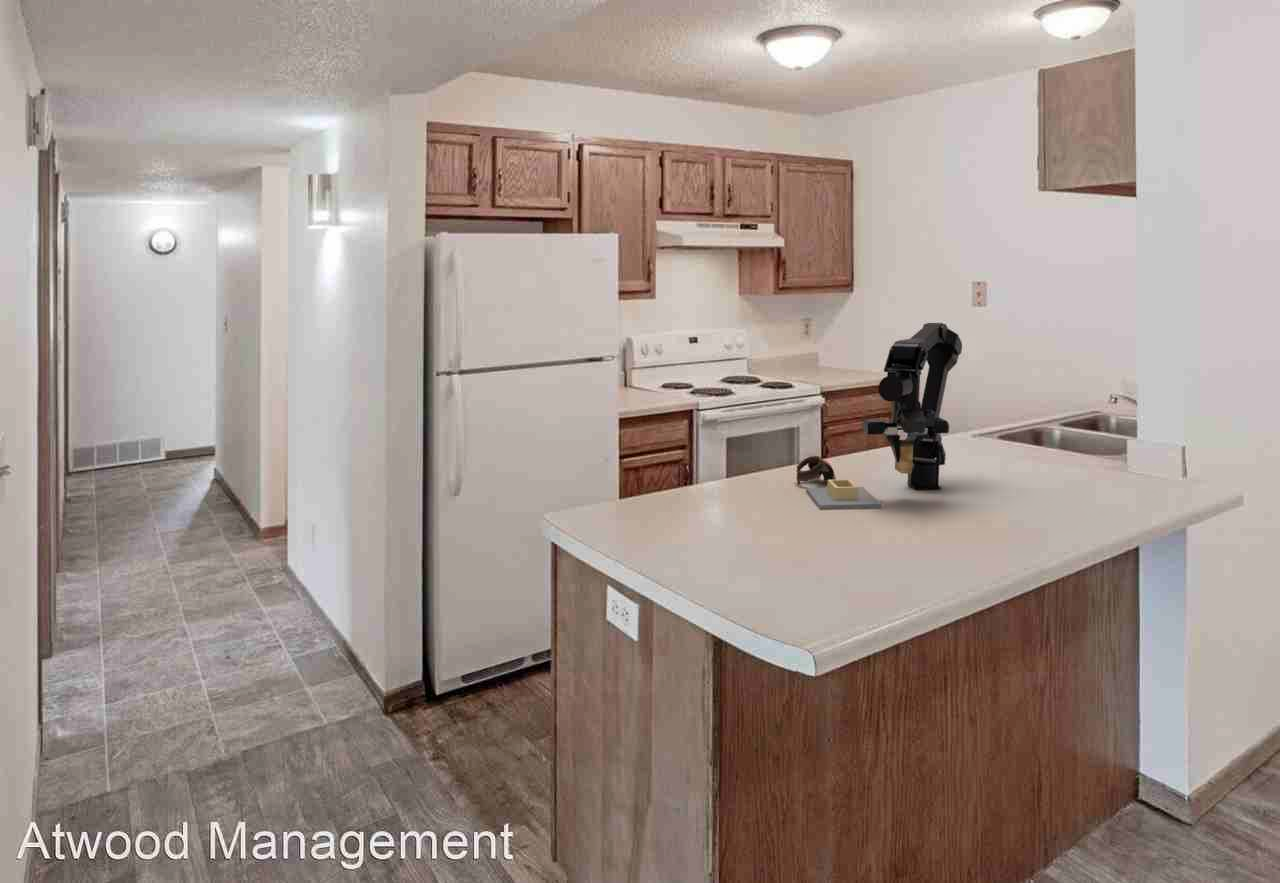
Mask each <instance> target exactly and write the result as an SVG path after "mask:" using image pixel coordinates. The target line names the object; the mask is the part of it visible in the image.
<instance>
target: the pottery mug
mask: <svg viewBox="0 0 1280 883" xmlns="http://www.w3.org/2000/svg"><path fill="white" fill-rule="evenodd" d="M805 466H808V468H809V469H807V470H802V469H803V468H804V467H805ZM795 471H796V481H797V484H798V485H800V484H801V482H807V481H808V480H809V481H811V480H813V479H821V476H822V477H823V482H827V481H828V480H837V479H836V475H835V471H834V468H833V467H832V465H831V463H830V462H828V461H827V460H825V459H823V458H822V456H820V455H812V456H808V457H806V458H803V460H801V461H800V462H799V463H798V464H797V465H796V470H795Z"/></svg>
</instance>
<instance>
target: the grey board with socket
mask: <svg viewBox="0 0 1280 883" xmlns="http://www.w3.org/2000/svg"><path fill="white" fill-rule="evenodd" d="M826 482H827V484H826V485H827V486H826V487H807V488H805V490H806V491H805V493H806V494H807V495H808V496H809V498H810V497H811V498H810V499H811V500H812V501H813V503H814V502H815V503H814V504H815V505H816V507H819V508H818V509H819V510H853V509H854V510H855V509H856V510H857V509H859V510H860V509H862V510H863V508H864V509H882V503H881V502H880V501H879V499H877V498H875V497H874V496H873V495H872V494H871V493H870V492H869V491H868V490H867V489H866V488H865V487H864V486H858V485H857V484H855V482H854V481H853V480H851V479H849V478H847V479H846V478H843V479H836V480H828V481H826Z"/></svg>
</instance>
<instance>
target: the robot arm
mask: <svg viewBox="0 0 1280 883" xmlns="http://www.w3.org/2000/svg"><path fill="white" fill-rule="evenodd" d="M962 351H963V343H962V340H961V338H960V335H959V334H958V333H956V331H955V332H954V331H953V330H952V329H950V328H949V327H948V326H947V324H945V323H943V322H927V323H924V324H923V326H922V328H921V329H920V330H918V331H917V332H916V333H915V334H913V336H911V337H909V338H907V339H906V338H905V339H900V340H899V339H898V340H897V341H894V343H893V344H892V346H891V347H890V348H889V351H888V355H887V358H886V362H885V365H884V369H883V372H884V373H887V374H886V375H887V376H885V377H883V378H882V379H881V380H880V381H879V384H878V385H877V386H878V387H877V390H878V394H879V396H880V398H882V399H883V400H884V401H887V402H891V404H892V416H891V419H890V422H889V421H888V422H887V421H886V422H885V421H884V420H882V419H881V418H865V419H864V420H863V421H862V424H861V427H862V428H861V431H863V432H864V433H865V434H867V435H882V436H884V437H885V438H886V439H887V442H888V443H889V445H890V448H891V451H892V454H893V456H894V461H895V460H896V462H897V463H899V458H900V454H899V440H901V435H900V434H898V431H903V432H904V433H906V434H907V436H906V438H905V439H904V440H908V441H910V442H911V443H913V462H912V473H907V485H909V486H910V487H911V488H913V490H941V488H942V486H940V485H939V480H940V466H945V464H946V460H947V459H946V451H945V448H944V445H943V442H942V438H943V437H942V435H941V434H949V433H950V424H949V422H948V421H947V420H946V419H944V418H942V417H940V413H941V408H942V403H943V400H944V394H945V390H946V384H947V379H948V374H949V372H950V371H951V370H952V369H953V368H954V367H955V366H956V365H957V363H958V360H959V358H960V357H959V356H960V355H961V354H962ZM926 362H927V364H928V370H927V376H926V381H925V385H924V386H925V387H924V390H923V395H922V399H921V400H922V401H920V391H921V390H920V387H921V386H920V385H921V376H922V371H923V370H924V368H925V365H926Z"/></svg>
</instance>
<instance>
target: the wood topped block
mask: <svg viewBox="0 0 1280 883" xmlns="http://www.w3.org/2000/svg"><path fill="white" fill-rule="evenodd" d="M899 454H900V458H899V463H897V462H896V460H895V459H894V461H895V462H894V470H896V471H897V472H899V473H900V474H908V473H912V462H913V443H911V442H910V441H908V440H905V439H899Z"/></svg>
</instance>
